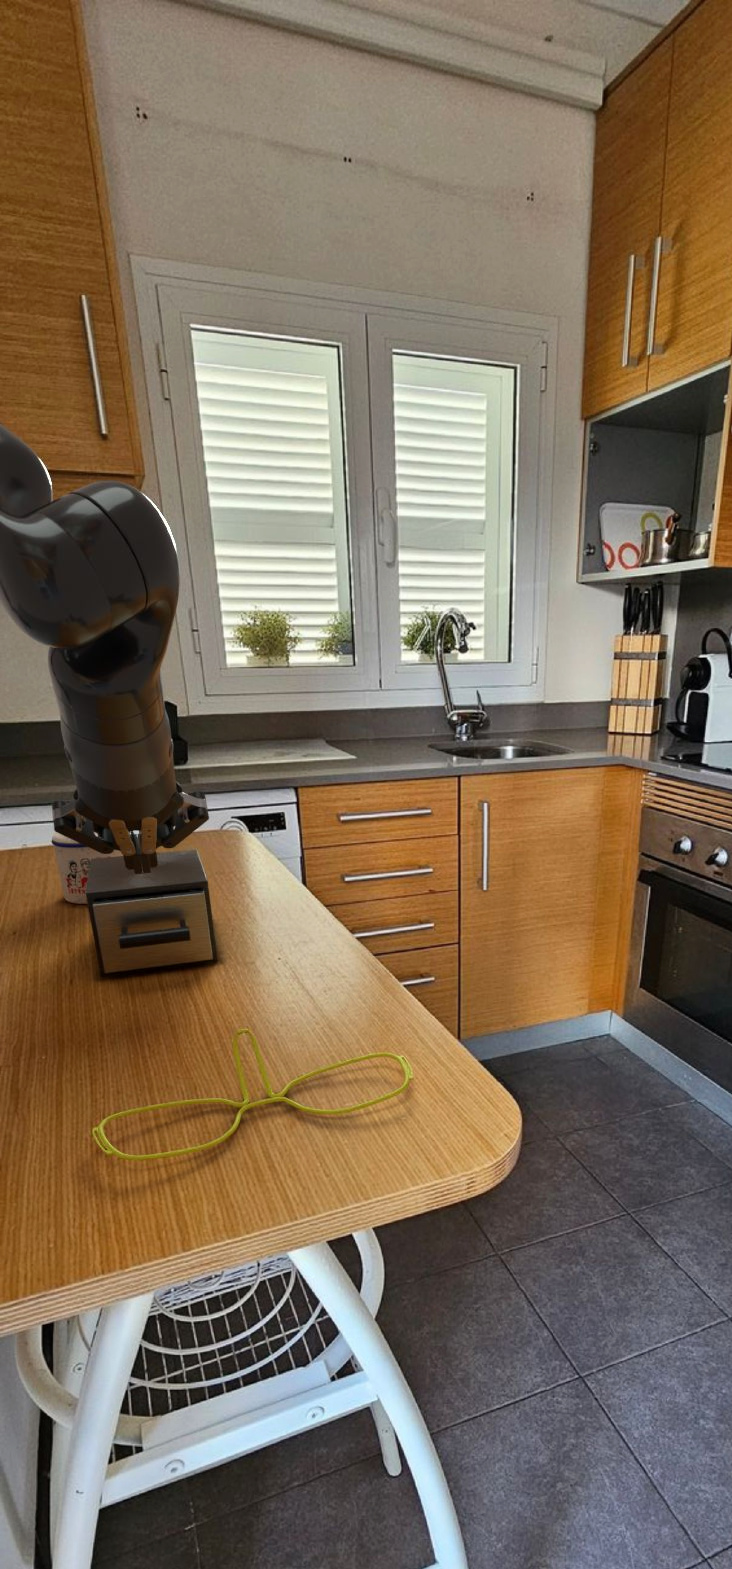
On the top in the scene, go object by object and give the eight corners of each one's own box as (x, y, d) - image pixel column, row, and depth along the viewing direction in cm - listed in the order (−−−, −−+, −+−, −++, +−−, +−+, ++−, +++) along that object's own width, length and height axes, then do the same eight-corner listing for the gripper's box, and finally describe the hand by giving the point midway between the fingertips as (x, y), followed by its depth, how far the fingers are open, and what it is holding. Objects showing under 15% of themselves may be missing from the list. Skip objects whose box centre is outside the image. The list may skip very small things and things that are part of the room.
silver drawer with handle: (216, 973, 91) (208, 904, 88) (104, 989, 87) (91, 917, 84) (202, 921, 107) (194, 861, 104) (107, 932, 104) (96, 870, 101)
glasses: (101, 1183, 58) (89, 1123, 56) (89, 1115, 66) (78, 1061, 64) (430, 1096, 68) (429, 1044, 66) (384, 1047, 76) (382, 999, 74)
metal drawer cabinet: (217, 961, 97) (207, 880, 93) (100, 976, 93) (85, 893, 89) (206, 920, 110) (197, 849, 107) (103, 932, 106) (90, 858, 103)
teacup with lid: (62, 908, 116) (46, 824, 111) (62, 891, 123) (47, 812, 119) (153, 897, 120) (141, 816, 116) (148, 881, 128) (136, 805, 123)
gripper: (203, 704, 67) (208, 825, 82) (20, 711, 63) (62, 837, 78) (217, 782, 64) (220, 892, 80) (27, 794, 60) (69, 908, 75)
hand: (141, 865), depth 79 cm, fingers closed
